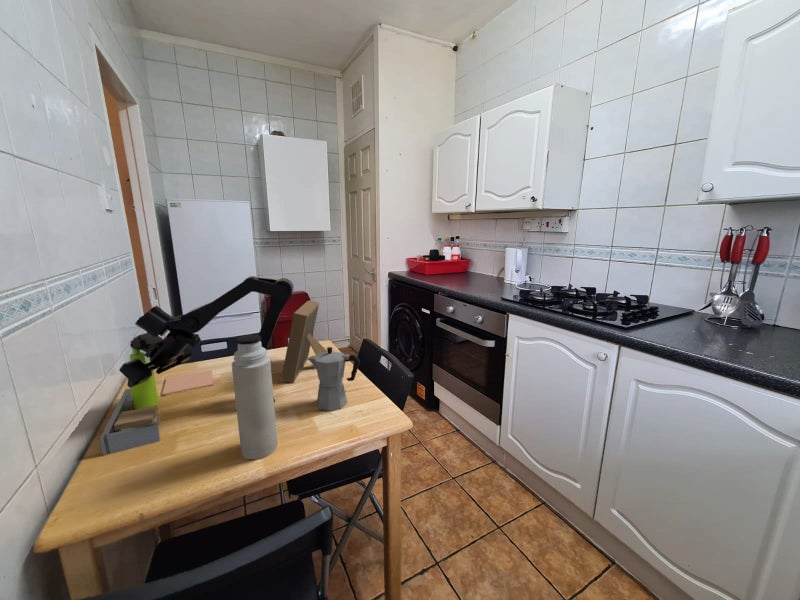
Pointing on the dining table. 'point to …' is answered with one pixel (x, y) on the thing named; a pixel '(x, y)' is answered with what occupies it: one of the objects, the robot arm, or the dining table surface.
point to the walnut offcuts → (137, 418)
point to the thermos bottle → (254, 398)
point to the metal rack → (126, 438)
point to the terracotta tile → (187, 382)
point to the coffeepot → (332, 378)
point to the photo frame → (301, 341)
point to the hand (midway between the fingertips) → (143, 379)
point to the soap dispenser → (144, 387)
